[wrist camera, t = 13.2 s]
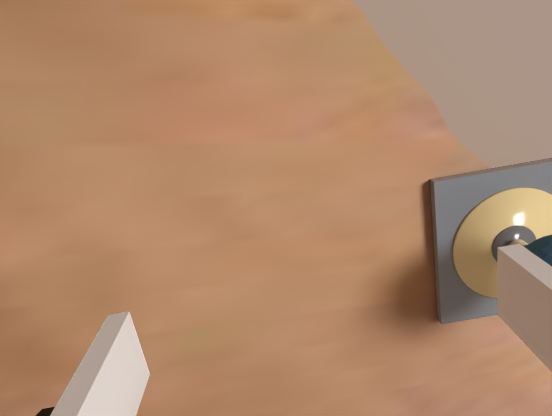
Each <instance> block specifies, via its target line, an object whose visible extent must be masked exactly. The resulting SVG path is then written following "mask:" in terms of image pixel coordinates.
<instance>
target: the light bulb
mask: <svg viewBox="0 0 552 416" xmlns="http://www.w3.org/2000/svg"><path fill="white" fill-rule="evenodd" d="M514 244H520V245H522V246H523V247H525V248H526V249H528V250H529V251H530V252H532V253H533V254H535V255H536V256H538V257H539V258H540V259H542V260H543V261H545V262H546V263H547V264H549V265H550V266H552V235H548V236H544V237H541V238H539V239H537V240H535V241H533V242H532V243H530V244H528V243H526V242H525V241H523V240H519V239H518V240H515V241H513V242H511V243H510V245H514Z"/></svg>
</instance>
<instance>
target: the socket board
mask: <svg viewBox="0 0 552 416" xmlns="http://www.w3.org/2000/svg"><path fill="white" fill-rule="evenodd" d="M430 188H431V206H432V224H433V242H434V260H435V279H436V297H437V315H438V320H439V321H440V323H441V324H445V323H451V322H457V321H463V320H469V319H474V318H480V317H486V316H492V315H498V276H497V247H503V246H508V245H510V243H511V242H513V241H515V240H518V239H519V240H523V241H525V242H526V243H528V244H530V243H532V242H533V241H535V240H537V239H539V238H541V237H544V236H548V235H552V158H549V159H543V160H537V161H531V162H526V163H520V164H515V165H509V166H503V167H497V168H492V169H486V170H480V171H475V172H469V173H463V174H458V175H452V176H446V177H441V178H435V179H430Z"/></svg>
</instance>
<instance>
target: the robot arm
mask: <svg viewBox="0 0 552 416" xmlns="http://www.w3.org/2000/svg"><path fill="white" fill-rule="evenodd" d="M497 276H498V315H499V316H500V318H501V319H502V320H503V321H504V322H505V323H506V324H507V325H508V326H509V327H510V328H511V329H512V330H513V331H514V332H515V333H516V335H517V336H518V337H519V338H520V339H521V340H522V341H523V342H524V343H525V344H526V345H527V346H528V347H529V348H530V349H531V350H532V351H533V353H534V354H535V355H536V356H537V357H538V358H539V359H540V360H541V361H542V362H543V363H544V364H545V365H546V366H547V367H548V368H549V369H550V371H551V372H552V266H550V265H549V264H547V263H546V262H545V261H543V260H542V259H540V258H539V257H538V256H536V255H535V254H533V253H532V252H530V251H529V250H528V249H526V248H525V247H523V246H522V245H520V244H514V245H508V246H503V247H497ZM149 375H150V373H149V370H148V367H147V364H146V361H145V358H144V355H143V352H142V349H141V346H140V343H139V340H138V336H137V333H136V330H135V327H134V324H133V321H132V318H131V315H130V312H123V313H117V314H111V315H108V316H107V318H106V320H105V321H104V323H103V325H102V326H101V328H100V330H99V332H98V333H97V335H96V337H95V339H94V340H93V342H92V344H91V346H90V347H89V349H88V351H87V352H86V354H85V356H84V358H83V359H82V361H81V363H80V365H79V366H78V368H77V370H76V372H75V373H74V375H73V377H72V378H71V380H70V382H69V384H68V385H67V387H66V389H65V391H64V392H63V394H62V396H61V398H60V399H59V401H58V403H57V404H56V406H55V407H51V408H46V409H42V410H41V411H40V412H39V413H38V414H37V415H36V416H136V414H137V411H138V408H139V405H140V402H141V399H142V396H143V393H144V390H145V387H146V384H147V381H148V378H149Z"/></svg>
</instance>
